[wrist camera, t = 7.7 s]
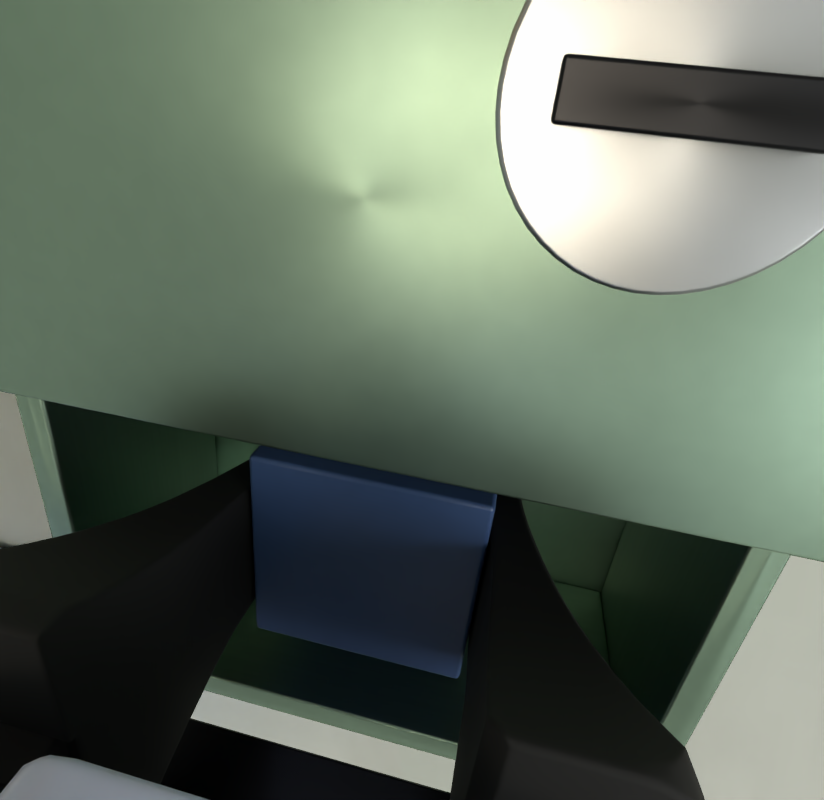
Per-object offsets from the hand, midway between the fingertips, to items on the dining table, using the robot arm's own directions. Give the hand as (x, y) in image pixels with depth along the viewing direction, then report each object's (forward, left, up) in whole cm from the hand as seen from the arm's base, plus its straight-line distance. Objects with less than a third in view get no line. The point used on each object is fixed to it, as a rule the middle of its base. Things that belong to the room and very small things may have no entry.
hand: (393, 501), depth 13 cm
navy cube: (0, 0, -1) cm, 1 cm away
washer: (0, +3, -3) cm, 5 cm away
